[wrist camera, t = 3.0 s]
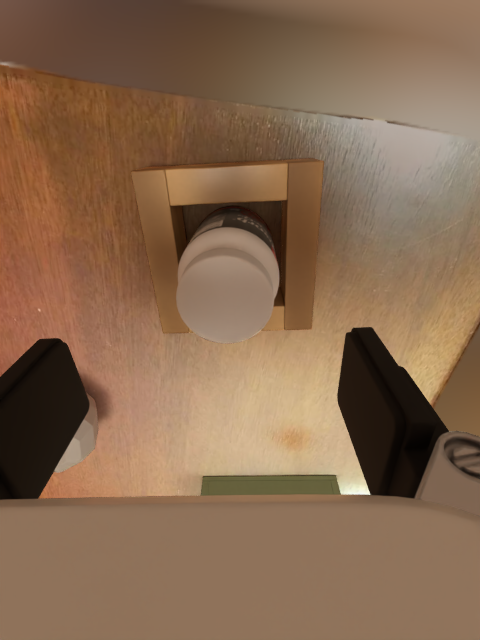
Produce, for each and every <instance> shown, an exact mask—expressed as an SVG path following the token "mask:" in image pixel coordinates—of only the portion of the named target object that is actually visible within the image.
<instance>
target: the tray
mask: <svg viewBox="0 0 480 640" xmlns="http://www.w3.org/2000/svg"><path fill="white" fill-rule="evenodd" d="M293 494H321V495H341V493H340V490H339V486H338V482H337V478H336V476H335V475H333V476H217V477H203V482H202V489H201V496H207V495H293Z"/></svg>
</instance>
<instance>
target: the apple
mask: <svg viewBox="0 0 480 640" xmlns="http://www.w3.org/2000/svg"><path fill="white" fill-rule="evenodd" d="M86 394H87V393H86ZM87 397H88V399H89V403H90V406H89V411H88V413H87V415H86V416H85V418H84V420H83V422H82V423H81V425H80V427H79V429H78V430H77V432H76V434H75V435H74V437H73V439H72V441H71V442H70V444H69V446H68V448H67V449H66V451H65V453H64V455H63V456H62V458H61V460H60V461H59V463H58V465H57V467H56V468H55V470H54V472H63V471H64V470H66V469H68V468H70V467H72V466H74V465H76V464H78V463H80V462H82V461H83V460H84V459H85V458H86V457H87V456H88V455H89V454H90V453H91V452H92V451H93V450H94V449H95V444H96V439H97V434H98V417H97V408H96V402H95V400H94V399H93V398H92V397H91V396H90V395H89V394H87Z"/></svg>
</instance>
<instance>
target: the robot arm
mask: <svg viewBox="0 0 480 640" xmlns="http://www.w3.org/2000/svg"><path fill="white" fill-rule="evenodd" d="M337 396H338V404H339V407H340V410H341V413H342V416H343V418H344V421H345V424H346V427H347V430H348V432H349V435H350V438H351V441H352V444H353V446H354V449H355V452H356V455H357V458H358V460H359V463H360V466H361V469H362V472H363V474H364V477H365V480H366V483H367V486H368V488H369V491H370V494H371V495H321V494H293V495H207V496H147V497H92V498H49V499H38V498H39V496H40V494H41V493H42V491H43V489H44V488H45V486H46V484H47V482H48V481H49V479H50V477H51V475H52V474H53V472H54V470H55V468H56V467H57V465H58V463H59V461H60V460H61V458H62V456H63V455H64V453H65V451H66V449H67V448H68V446H69V444H70V442H71V441H72V439H73V437H74V435H75V434H76V432H77V430H78V429H79V427H80V425H81V423H82V422H83V420H84V418H85V416H86V415H87V413H88V411H89V406H90V403H89V399H88V397H87V394H86V391H85V389H84V386H83V384H82V381H81V378H80V376H79V373H78V371H77V368H76V365H75V363H74V360H73V358H72V355H71V352H70V350H69V347H68V345H67V344H66V343H64V342H63V341H62V340H61V339H58V338H53V339H40V340H38V341H37V342H36V343H35V344H34V345H33V346H32V347H31V348H30V349H29V350H28V351H27V352H25V353H24V354H23V355H22V356H21V357H20V358H19V359H18V360H17V361H16V362H15V363H14V364H13V365H12V366H11V367H10V368H9V369H8V370H7V371H6V372H5V373H4V374H3V375H2V376H1V377H0V640H480V437H479V436H476V435H473V434H470V433H467V432H459V431H452V432H449V431H448V429H447V428H446V426H445V425H444V423H443V422H442V421H441V419H440V418H439V416H438V415H437V413H436V412H435V411H434V409H433V408H432V406H431V405H430V404H429V402H428V401H427V399H426V398H425V396H424V395H423V394H422V392H421V391H420V389H419V388H418V387H417V385H416V384H415V382H414V381H413V379H412V378H411V377H410V375H409V374H408V372H407V371H406V370H405V369H404V368H403V367H401V366H398V364H397V363H396V362H395V360H394V359H393V357H392V356H391V354H390V353H389V351H388V350H387V348H386V347H385V346H384V344H383V343H382V341H381V340H380V338H379V337H378V335H377V334H376V332H375V331H374V329H373V328H371V327H364V328H353V329H352V331H351V332H347V333H346V337H345V344H344V351H343V358H342V365H341V373H340V380H339V387H338V395H337Z"/></svg>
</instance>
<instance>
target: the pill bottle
mask: <svg viewBox="0 0 480 640" xmlns="http://www.w3.org/2000/svg"><path fill="white" fill-rule="evenodd" d="M278 287H279V267H278V263H277V259H276V254H275V249H274V244H273V239H272V236H271V233H270V230H269V228H268V227H267V225H266V223H265V222H264V221H263V220H262V218H261V217H259V216H258V215H257V214H256V213H254V212H252V211H251V210H248V209H246V208H242V207H234V206H232V207H224V208H221V209H218V210H216V211H214V212H212V213H211V214H210V215H208V216H207V217H206V218H205V219H204V220H203V221H202V223H201V224H200V226H199V227H198V229H197V231H196V232H195V234H194V236H193V237H192V239H191V241H190V242H189V244H188V246H187V247H186V249H185V251H184V253H183V255H182V257H181V259H180V263H179V266H178V287H177V292H176V302H177V308H178V311H179V314H180V316H181V318H182V320H183V321H184V323H185V324H186V325H187V326H188V327H189V328H190V330H192V331H193V332H194V333H196V334H197V335H199V336H200V337H202V338H204V339H206V340H209V341H212V342H216V343H237V342H242V341H244V340H247V339H249V338H251V337H253V336H255V335H256V334H257V333H259V332H260V331H261V330H262V329H263V328H264V327H265V325H266V324H267V322H268V321H269V319H270V317H271V314H272V311H273V306H274V299H275V297H276V294H277V291H278Z"/></svg>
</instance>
